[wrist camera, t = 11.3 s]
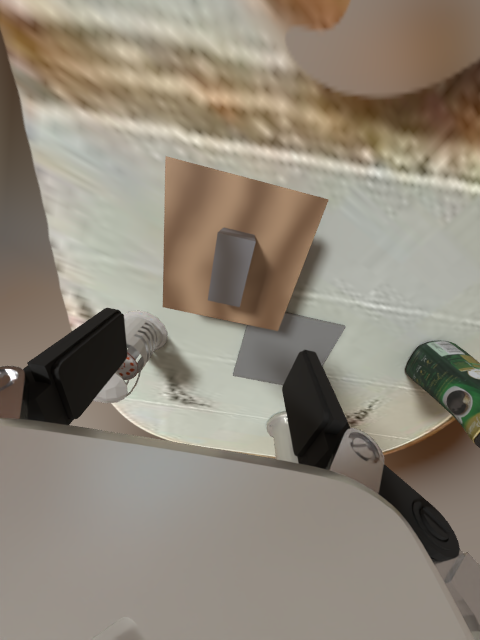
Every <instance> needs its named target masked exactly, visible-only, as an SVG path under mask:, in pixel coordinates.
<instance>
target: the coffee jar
mask: <svg viewBox="0 0 480 640" xmlns="http://www.w3.org/2000/svg"><path fill="white" fill-rule="evenodd" d="M406 372H407V374H408V375H409V376H410V377H411V378H412V379H413V380H414V381H415V382H416V383H417V384H418V385H419V386H421V387H422V388H423V389H424V390H425V391H426V392H428V393H429V394H430V395H431V396H432V397H433V398H434V399H435V400H437V401H438V402H439V403H440V404H441V405H442V406H443V407H444V408H445V409H446V410H447V411H449V412H450V413H451V414H452V415H453V416H454V417H455V418H456V420H457V421H458V422H459V423H460V424H461V425H462V427H463V428H464V430H465V431H466V433H467V434H468V436H469V437H470V439H471V440H472V441H473V442H474V443H475V444H476V445H477V446H478V447H479V448H480V363H479V362H478V361H477V360H475V359H474V358H473V357H472V356H470V355H469V354H468V353H467V352H465V351H464V350H463V349H461V348H460V347H459V346H457V345H456V344H454V343H452V342H447V341H432V342H428V343H425V344H422V345H420V346H419V347H418V348H417V349H416V350H415V352H414V353H413V355H412V356H411V358H410V360H409V362H408V364H407V367H406Z"/></svg>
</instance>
